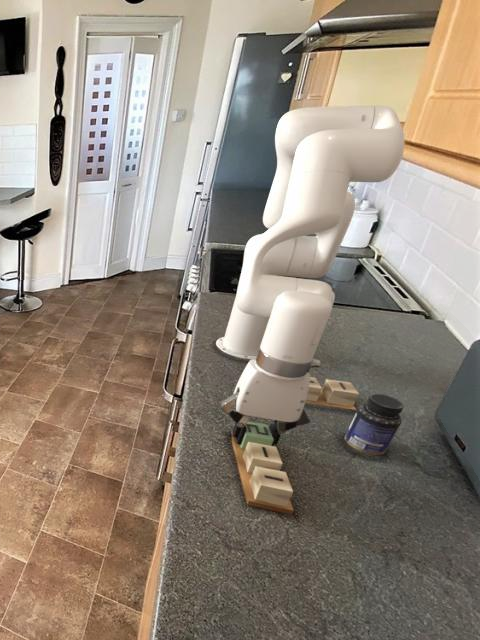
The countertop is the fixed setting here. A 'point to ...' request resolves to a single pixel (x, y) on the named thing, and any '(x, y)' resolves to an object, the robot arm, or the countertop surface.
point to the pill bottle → (375, 424)
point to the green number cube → (257, 434)
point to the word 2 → (332, 393)
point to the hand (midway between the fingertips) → (252, 441)
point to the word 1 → (263, 477)
